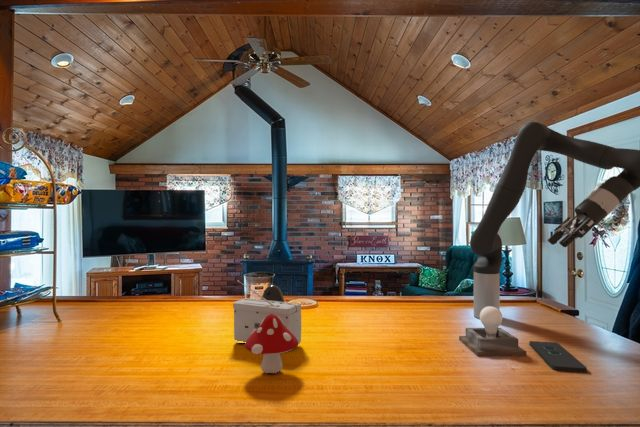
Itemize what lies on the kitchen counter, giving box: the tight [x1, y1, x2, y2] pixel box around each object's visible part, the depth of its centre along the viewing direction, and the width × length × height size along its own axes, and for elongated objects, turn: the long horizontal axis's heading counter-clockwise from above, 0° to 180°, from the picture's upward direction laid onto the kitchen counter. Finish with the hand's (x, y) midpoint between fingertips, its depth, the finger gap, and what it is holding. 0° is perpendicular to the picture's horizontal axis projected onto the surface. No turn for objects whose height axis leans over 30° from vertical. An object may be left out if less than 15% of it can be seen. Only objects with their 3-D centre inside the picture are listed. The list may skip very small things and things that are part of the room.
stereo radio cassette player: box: [232, 279, 302, 345], centre depth 122 cm, size 21×8×20 cm, turn 65°
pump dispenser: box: [260, 284, 286, 302], centre depth 139 cm, size 10×10×15 cm
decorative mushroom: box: [243, 314, 299, 374], centre depth 101 cm, size 14×14×15 cm
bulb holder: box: [458, 327, 527, 357], centre depth 118 cm, size 14×14×4 cm
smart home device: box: [529, 340, 588, 374], centre depth 110 cm, size 8×2×20 cm
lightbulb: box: [479, 306, 504, 338], centre depth 118 cm, size 6×6×11 cm
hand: (555, 244), depth 121 cm, fingers open, 8 cm apart
